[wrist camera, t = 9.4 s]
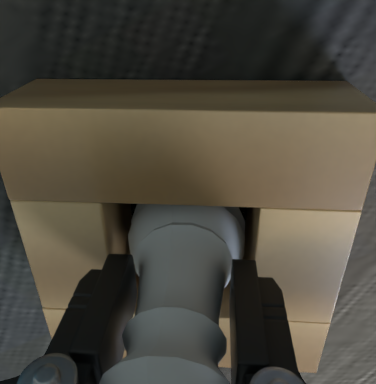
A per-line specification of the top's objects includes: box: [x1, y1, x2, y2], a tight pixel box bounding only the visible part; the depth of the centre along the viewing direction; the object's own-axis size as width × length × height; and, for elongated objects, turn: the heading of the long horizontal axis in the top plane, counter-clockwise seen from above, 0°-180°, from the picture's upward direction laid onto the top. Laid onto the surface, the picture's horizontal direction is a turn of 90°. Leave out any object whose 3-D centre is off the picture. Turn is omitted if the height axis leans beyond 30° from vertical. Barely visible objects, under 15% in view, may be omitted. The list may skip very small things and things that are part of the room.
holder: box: [0, 79, 376, 373], centre depth 14 cm, size 11×11×4 cm
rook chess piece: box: [99, 204, 245, 384], centre depth 11 cm, size 4×4×8 cm
